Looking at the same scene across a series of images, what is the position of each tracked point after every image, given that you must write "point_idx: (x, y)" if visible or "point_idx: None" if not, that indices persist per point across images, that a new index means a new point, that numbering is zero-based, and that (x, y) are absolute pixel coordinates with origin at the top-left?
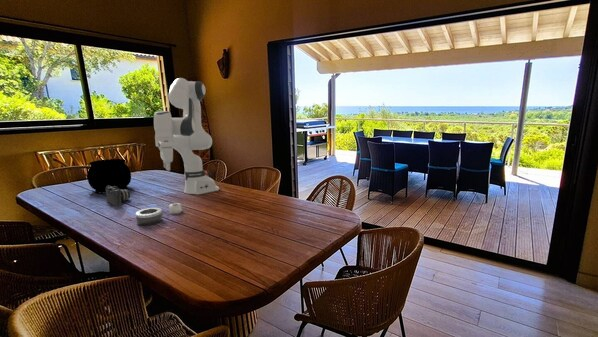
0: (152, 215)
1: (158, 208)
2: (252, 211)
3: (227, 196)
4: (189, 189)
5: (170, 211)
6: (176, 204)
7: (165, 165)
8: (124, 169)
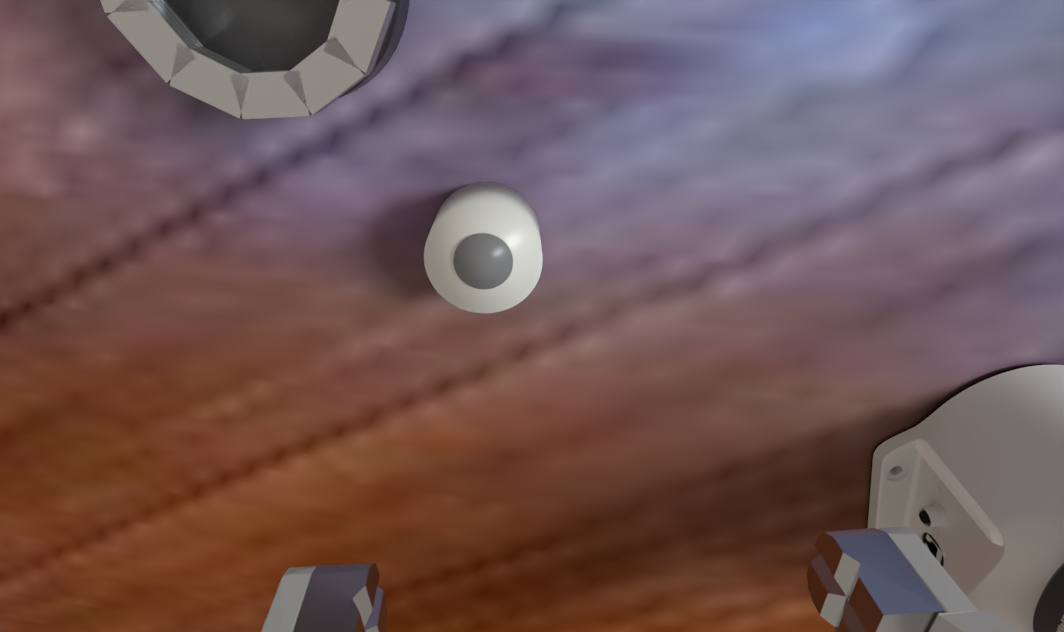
0: (109, 4)
1: (322, 90)
2: None
3: (668, 588)
4: (992, 425)
5: (455, 195)
6: (479, 275)
7: (860, 614)
8: None
